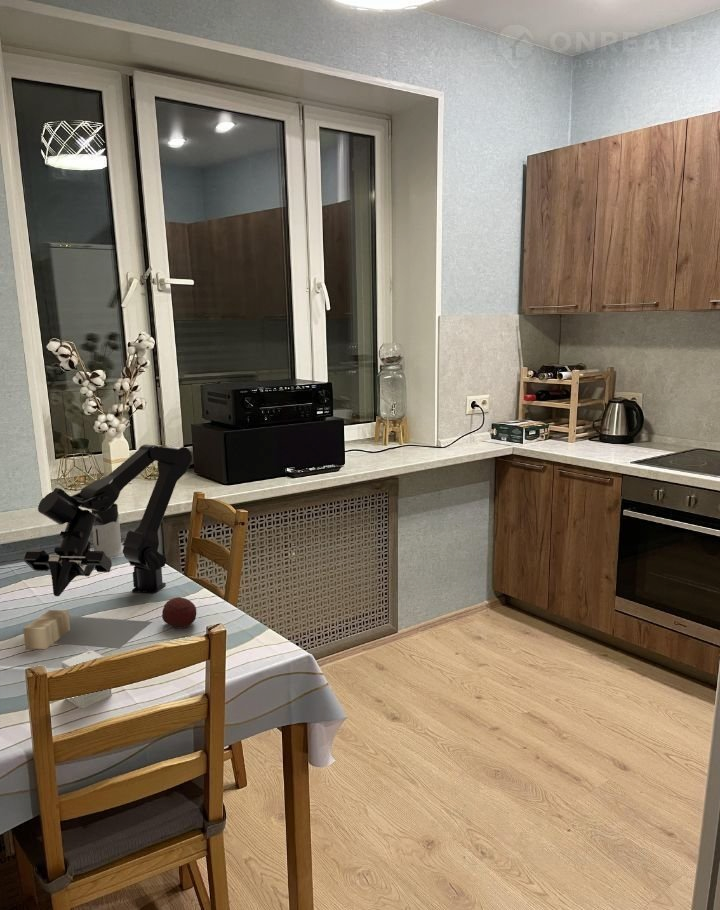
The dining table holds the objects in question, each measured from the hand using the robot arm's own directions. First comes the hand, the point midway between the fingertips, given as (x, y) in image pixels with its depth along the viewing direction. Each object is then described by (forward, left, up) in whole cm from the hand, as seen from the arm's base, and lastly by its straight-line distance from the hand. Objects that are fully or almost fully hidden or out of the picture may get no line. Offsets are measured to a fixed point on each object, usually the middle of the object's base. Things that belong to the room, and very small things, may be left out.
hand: (56, 595), depth 153 cm
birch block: (0, -1, -6) cm, 6 cm away
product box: (-23, +25, -9) cm, 35 cm away
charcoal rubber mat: (-8, -1, -9) cm, 11 cm away
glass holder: (+24, -54, -9) cm, 60 cm away
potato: (-25, -8, -9) cm, 28 cm away
